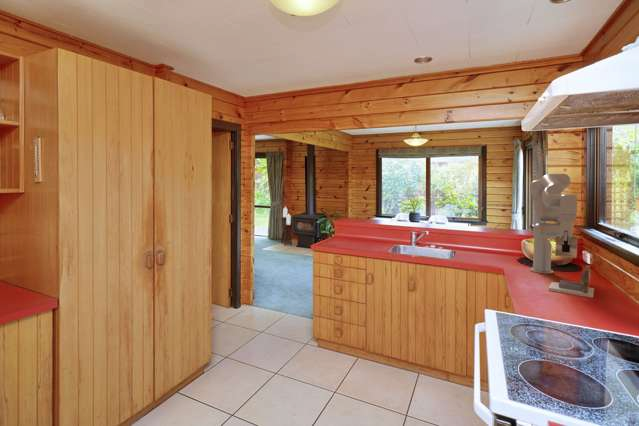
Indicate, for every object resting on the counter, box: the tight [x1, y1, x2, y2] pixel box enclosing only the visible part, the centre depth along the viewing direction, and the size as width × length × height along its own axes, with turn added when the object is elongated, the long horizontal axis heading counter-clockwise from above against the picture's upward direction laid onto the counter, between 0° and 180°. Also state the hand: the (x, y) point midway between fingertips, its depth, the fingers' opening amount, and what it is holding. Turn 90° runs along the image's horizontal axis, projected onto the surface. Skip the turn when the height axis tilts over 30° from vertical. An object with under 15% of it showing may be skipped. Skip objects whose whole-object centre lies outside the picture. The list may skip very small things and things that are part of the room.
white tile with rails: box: [548, 279, 595, 298], centre depth 172 cm, size 14×18×4 cm
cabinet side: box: [579, 264, 591, 293], centre depth 168 cm, size 12×3×12 cm, turn 138°
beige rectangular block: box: [555, 235, 579, 259], centre depth 175 cm, size 3×9×11 cm, turn 48°
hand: (566, 251), depth 176 cm, fingers closed on beige rectangular block, 3 cm apart
